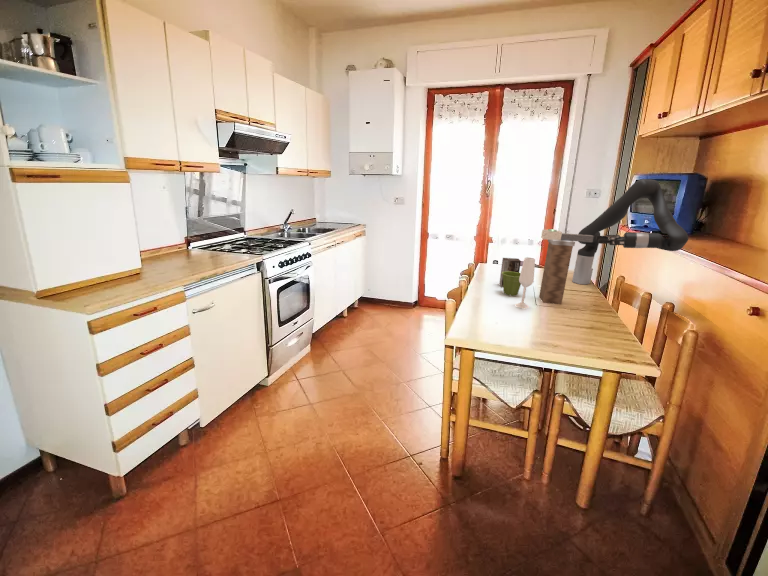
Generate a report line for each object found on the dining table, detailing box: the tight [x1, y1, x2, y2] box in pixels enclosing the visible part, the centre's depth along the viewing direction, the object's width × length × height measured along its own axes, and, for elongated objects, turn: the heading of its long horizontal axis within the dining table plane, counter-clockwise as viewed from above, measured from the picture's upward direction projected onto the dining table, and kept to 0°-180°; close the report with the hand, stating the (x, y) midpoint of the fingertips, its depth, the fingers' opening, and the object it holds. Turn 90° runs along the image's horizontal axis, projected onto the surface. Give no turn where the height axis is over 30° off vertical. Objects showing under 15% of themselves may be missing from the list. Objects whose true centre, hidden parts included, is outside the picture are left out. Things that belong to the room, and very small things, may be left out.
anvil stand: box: [538, 239, 576, 305], centre depth 193 cm, size 10×10×32 cm
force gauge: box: [540, 228, 594, 242], centre depth 188 cm, size 23×5×5 cm, turn 81°
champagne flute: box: [514, 256, 536, 309], centre depth 184 cm, size 7×7×24 cm
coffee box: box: [498, 257, 522, 288], centre depth 218 cm, size 9×6×16 cm
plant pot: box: [502, 271, 522, 297], centre depth 205 cm, size 12×12×11 cm
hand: (597, 239), depth 189 cm, fingers open, 8 cm apart
